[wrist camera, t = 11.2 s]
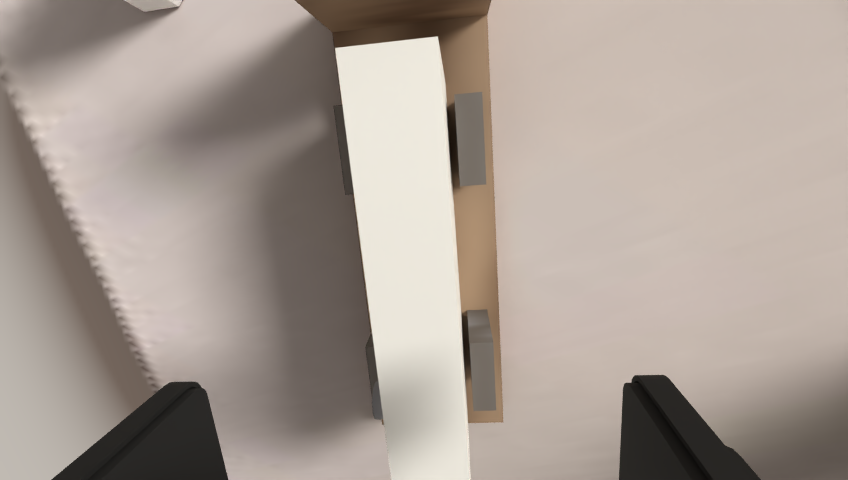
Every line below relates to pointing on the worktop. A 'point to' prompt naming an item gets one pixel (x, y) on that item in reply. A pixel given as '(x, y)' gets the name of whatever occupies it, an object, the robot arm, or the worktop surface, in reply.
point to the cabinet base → (470, 162)
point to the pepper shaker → (154, 4)
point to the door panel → (409, 251)
